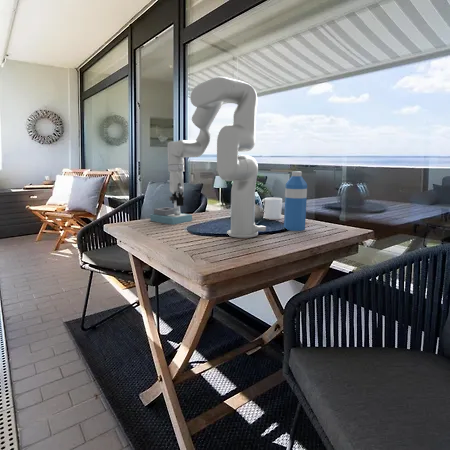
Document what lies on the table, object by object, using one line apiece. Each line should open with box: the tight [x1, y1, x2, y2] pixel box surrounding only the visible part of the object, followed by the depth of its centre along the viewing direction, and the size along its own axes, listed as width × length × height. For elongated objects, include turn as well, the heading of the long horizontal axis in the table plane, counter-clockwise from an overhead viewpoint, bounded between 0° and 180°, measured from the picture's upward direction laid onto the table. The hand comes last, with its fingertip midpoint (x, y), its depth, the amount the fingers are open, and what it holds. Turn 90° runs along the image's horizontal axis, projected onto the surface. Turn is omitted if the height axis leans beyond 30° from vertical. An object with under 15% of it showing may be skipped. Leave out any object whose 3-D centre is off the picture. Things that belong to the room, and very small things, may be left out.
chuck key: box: [168, 195, 186, 215], centre depth 163 cm, size 7×3×9 cm, turn 111°
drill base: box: [149, 206, 193, 226], centre depth 168 cm, size 18×13×6 cm
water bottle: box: [283, 170, 308, 232], centre depth 147 cm, size 9×9×25 cm
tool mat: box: [168, 213, 187, 217], centre depth 164 cm, size 6×7×1 cm
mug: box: [261, 197, 283, 221], centre depth 174 cm, size 11×9×10 cm
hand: (177, 204), depth 163 cm, fingers open, 9 cm apart
